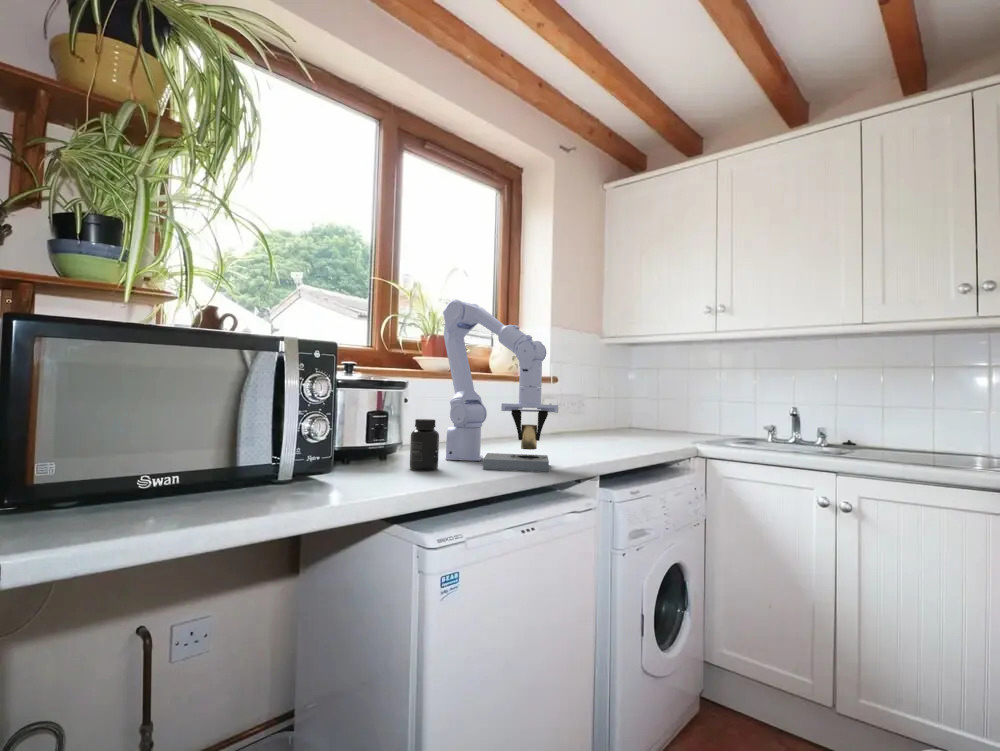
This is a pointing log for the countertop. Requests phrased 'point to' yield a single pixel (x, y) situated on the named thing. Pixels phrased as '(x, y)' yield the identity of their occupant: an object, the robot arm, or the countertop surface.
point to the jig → (516, 462)
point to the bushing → (529, 437)
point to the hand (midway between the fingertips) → (528, 440)
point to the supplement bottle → (424, 446)
